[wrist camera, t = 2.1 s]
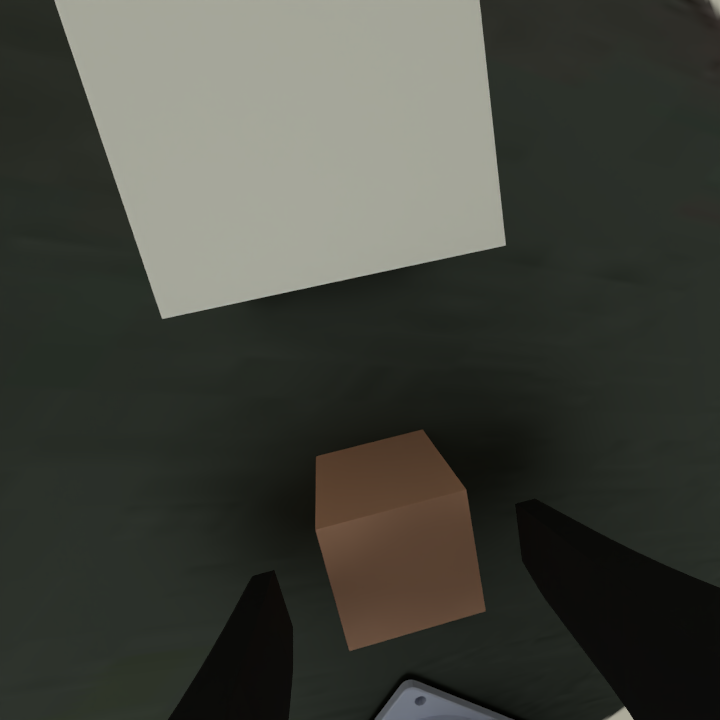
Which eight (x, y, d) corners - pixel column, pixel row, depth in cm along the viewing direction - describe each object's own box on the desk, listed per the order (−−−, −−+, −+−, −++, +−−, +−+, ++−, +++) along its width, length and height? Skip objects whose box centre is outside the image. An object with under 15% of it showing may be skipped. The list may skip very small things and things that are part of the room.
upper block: (402, -12, 8) (457, -202, 5) (443, 258, 9) (506, 245, 6) (133, 31, 8) (5, -146, 4) (216, 307, 9) (162, 318, 6)
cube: (421, 428, 14) (466, 489, 10) (438, 520, 15) (485, 611, 11) (315, 455, 13) (315, 530, 9) (340, 546, 14) (349, 650, 10)
